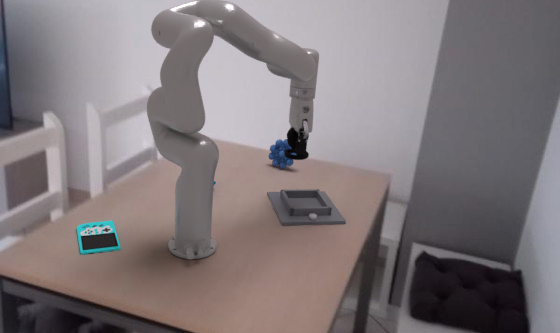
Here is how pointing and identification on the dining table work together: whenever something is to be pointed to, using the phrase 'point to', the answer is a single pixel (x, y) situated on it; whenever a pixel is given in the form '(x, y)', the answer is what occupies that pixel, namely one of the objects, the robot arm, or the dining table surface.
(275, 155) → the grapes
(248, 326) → the dining table surface
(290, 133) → the webcam
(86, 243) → the handheld game console
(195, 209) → the robot arm
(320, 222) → the housing
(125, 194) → the dining table surface
